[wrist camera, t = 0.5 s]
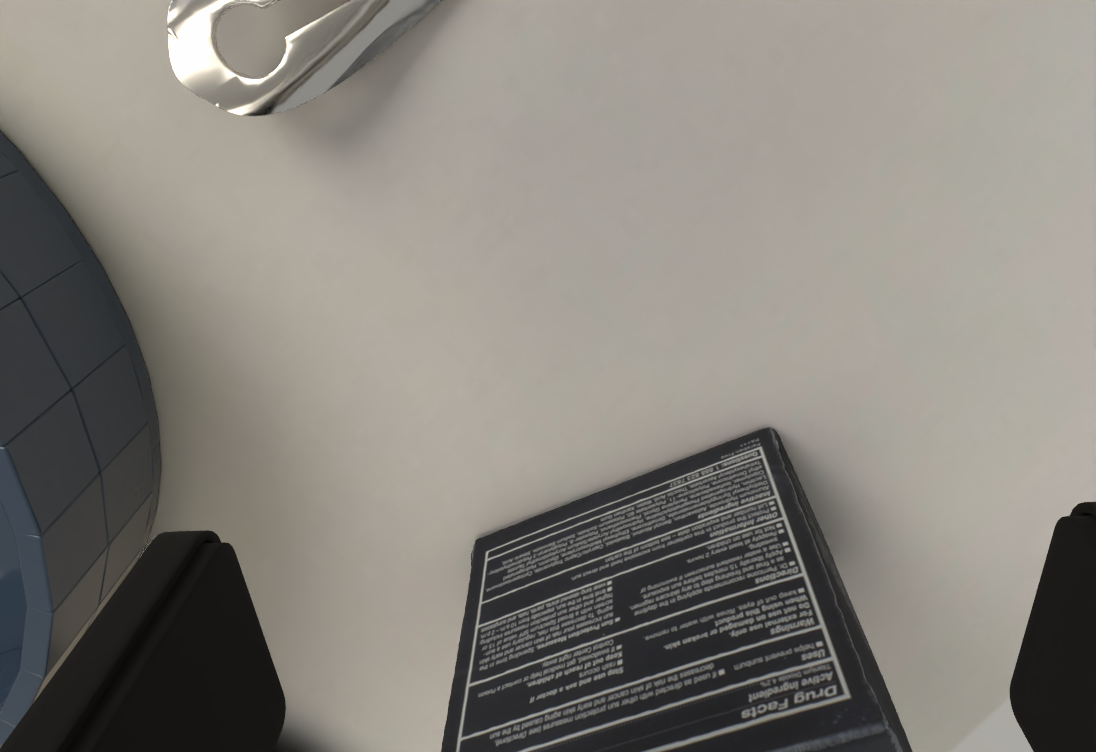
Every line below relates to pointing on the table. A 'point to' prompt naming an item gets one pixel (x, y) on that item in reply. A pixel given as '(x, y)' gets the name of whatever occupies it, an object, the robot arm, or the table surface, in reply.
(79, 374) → the bowl
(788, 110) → the table surface
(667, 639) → the small box
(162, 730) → the robot arm
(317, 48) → the metal spoon
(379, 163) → the table surface
